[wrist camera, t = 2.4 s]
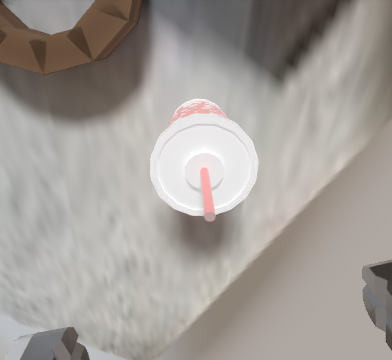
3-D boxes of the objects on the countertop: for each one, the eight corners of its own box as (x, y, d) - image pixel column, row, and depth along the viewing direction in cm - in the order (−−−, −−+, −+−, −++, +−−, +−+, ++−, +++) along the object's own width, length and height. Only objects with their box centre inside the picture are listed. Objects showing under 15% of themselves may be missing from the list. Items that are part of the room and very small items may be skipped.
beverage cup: (169, 80, 24) (149, 130, 11) (245, 98, 25) (306, 165, 12) (155, 153, 27) (125, 262, 14) (224, 168, 27) (257, 284, 15)
